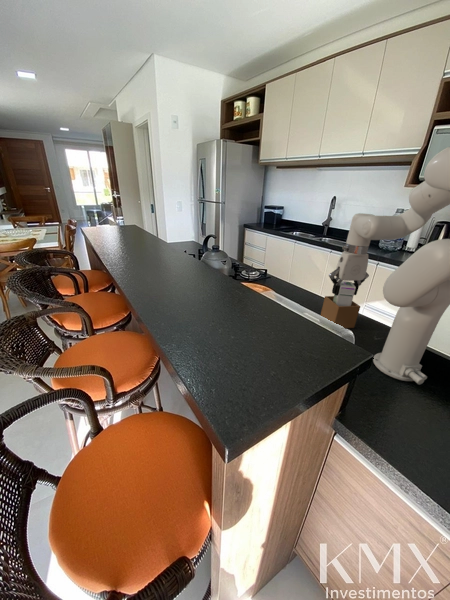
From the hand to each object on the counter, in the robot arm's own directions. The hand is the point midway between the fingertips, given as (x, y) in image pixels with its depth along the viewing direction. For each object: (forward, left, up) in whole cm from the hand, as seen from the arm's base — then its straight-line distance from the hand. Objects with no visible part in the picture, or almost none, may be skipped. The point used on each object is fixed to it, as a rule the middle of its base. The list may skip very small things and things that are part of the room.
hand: (344, 293), depth 98 cm
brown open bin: (0, 0, -13) cm, 13 cm away
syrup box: (0, 0, -10) cm, 10 cm away
